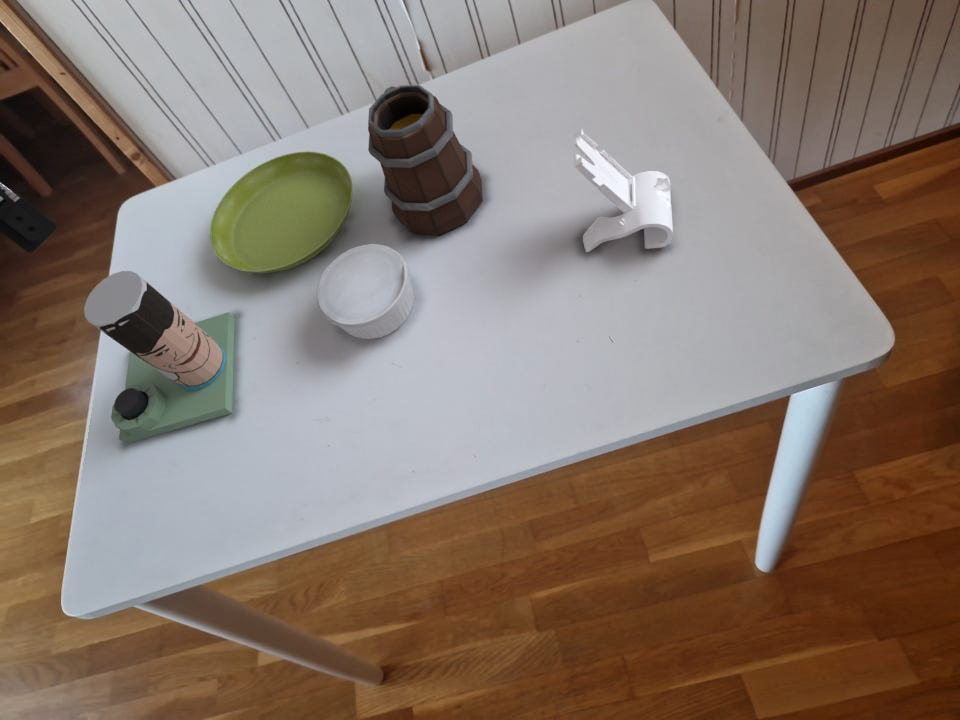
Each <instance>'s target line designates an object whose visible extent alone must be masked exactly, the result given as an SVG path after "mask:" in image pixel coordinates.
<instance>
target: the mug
mask: <svg viewBox="0 0 960 720" xmlns="http://www.w3.org/2000/svg"><path fill="white" fill-rule="evenodd" d="M453 120H454V118H453V113H452V111H451V110H450V109H449V108H447V107H446V106H444V105H442V104H441V103H440V101H439V100H438V98H437V97H436V96H435V95H434V94H433V93H432V92H430V91H429V90H428V89H426V88H425V87H424V86H422V85H420V84H412V85H411V84H410V85H409V84H408V85H406V84H405V85H398V86H393V85H392V86H389V87H387V88H385V90H384V92H383V93H382V94H380V95H379V97H378V98H377V99H376V100H375V101H374V102H373V104H372V105H371V106H370V107H369V108H368V121H367V122H368V123H367V125H368V126H367V131H368V148H367V149H368V150H367V151H368V153H369V154H370V156H372V157H373V158H374V159H375V160H377V162H379V164H380V167H381V170H382V173H383V175H384V183H383V184H384V185H383V193H384V195H385V196H386V197H387V198H388V199H389V200H390V201H391V211H392V213H393V215H394V216H395V218H396V220H397V221H398V222H399V223H401V225H402V226H404V227H405V228H406V229H407V230H408V231H409V232H410V233H411V234H413V235H415V234H416V235H433V236H441V235H443V234H445V233H447V232H449V231H452V230H453V229H456V228H458V227H461V226H462V225H464V224H466V223H468V221H470V219H471V218H472V216H473V215H474V214H475V212H476V210H477V209H478V208H479V207H480V206H481V204H482V203H483V202H484V200H483V182H482V177H481V175H480V171H479V169H478V168H477V167H476V166H474V164H473V155H472V151H470V150H469V149H468V148H466V147H465V146H464V145H462V144H461V143H460V142H459V139H458V137H457V135H456V134H455V131H454V122H453Z"/></svg>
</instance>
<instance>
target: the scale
mask: <svg viewBox="0 0 960 720" xmlns="http://www.w3.org/2000/svg"><path fill="white" fill-rule="evenodd" d="M194 323H195V324H196V325H197V326H198V327H200V328H201V329H202V330H203V331H204V332H205V333H207V334H208V335H209V336H210V337H211V338H212V339H214V340H215V341H216V342H217V343H218V344H219V345H220V346H221V347H222V348H223V349H224V351H225V354H226V363H225V366H224V369H223V371H222V373H221V374H220V375H219V377H218V378H217V379H216V380H215V381H214V382H213V383H212V384H211V385H209V386H207V387H205V388H204V389H201V390H197V391H187V390H185V389H183V388H181V387H180V386H178V385H177V384H176V383H174V382H173V381H171V380H170V379H168V378H167V377H166V376H164V375H163V374H161V373H160V372H159V371H157V370H156V369H154V368H153V367H152V366H150V365H149V364H147V363H146V362H144V361H143V360H142V359H140V358H139V357H137V356H136V355H135V354H133V353H132V352H130V351H129V357H128V365H127V373H126V380H125V389H124V390H126V389H129V388H134V389H136V390H138V391H139V392H141V393H142V394H144V395H145V396H146V397H147V398H148V406H147V408H146V409H145V411H144V412H143V413H142V414H141V415H140V416H139V417H137V418H134V419H130V418H127V417H125V416H123V415H122V414H120V413H118V412H117V411H116V410H115V408H114V404H113V405H112V407H111V414H110V415H111V416H110V419H111V421H112V422H113V424H114V426H115V428H117V429H118V430H119V435H118V440H119V441H120V442H122V443H125V444H126V445H128V444H131V443H136V442H139V441H143V440H145V439H148V438H149V439H150V438H153V437H156V436H159V435H163V434H167V433H169V432H172V431H176V430H179V429H182V428H187V427H190V426H193V425H196V424H201V423H203V422H207V421H211V420H214V419H217V418H221V417H224V416H227V415H230V414H233V399H234V395H233V394H234V367H235V366H234V363H235V361H234V359H235V330H236V329H235V328H236V318H235V316H234V315H233V314H231V312H224V313H222V314H218V315H215V316H212V317H209V318H206V319H203V320H200V321H199V320H198V321H195V322H194Z"/></svg>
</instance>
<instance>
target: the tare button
mask: <svg viewBox="0 0 960 720" xmlns="http://www.w3.org/2000/svg"><path fill="white" fill-rule="evenodd" d="M113 405H114V408H115V410H116V411H117V412H118V413H120V414H122V415H123V416H125V417H127V418H130V419H134V418H137V417H139V416H140V415H141V414H142V413H143V412H144V411H145V409H146V408H147V406H148V398H147V397H146V396H145V395H144V394H142V393H141V392H139V391H138V390H136V389H134V388H129V389H126V390H125V389H124V390H122V391H121V392H119V394H118V395H117V396H116V398H115V400H114V403H113Z"/></svg>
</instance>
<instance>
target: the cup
mask: <svg viewBox="0 0 960 720" xmlns="http://www.w3.org/2000/svg"><path fill="white" fill-rule="evenodd" d="M83 312H84V313H83V314H84V318H85V319H86V320H87V322H88V323H89V324H90V325H92V326H93V327H95V328H96V329H98V330H99V331H100V332H102V333H104V334H105V335H106V336H108V337H109V338H111V339H112V340H114V341H115V342H116V343H117V344H119V345H120V346H122V347H123V348H125V350H127V351H129V353H130V352H132V353H133V354H135V355H136V356H137V357H139V358H140V359H142V360H143V361H144V362H146V363H147V364H149V365H150V366H152V367H153V368H154V369H156V370H157V371H159V372H160V373H161V374H163V375H164V376H166V377H167V378H168V379H170V380H171V381H173V382H174V383H176V384H177V385H178V386H180V387H181V388H183V389H185V390H187V391H197V390H201V389H204V388H205V387H207V386H209V385H211V384H212V383H213V382H214V381H215V380H216V379H217V378H218V377H219V375H220V374H221V373H222V371H223V369H224V366H225V363H226V354H225V351H224V349H223V348H222V347H221V346H220V345H219V344H218V343H217V342H216V341H215V340H214V339H212V338H211V337H210V336H209V335H208V334H207V333H205V332H204V331H203V330H202V329H201V328H200V327H198V326H197V325H196V324H195V323H196V322H194V321H193V320H192V319H190V317H188V316H187V315H186V314H185V313H183V312H182V311H181V310H180V309H179V308H178V307H176V306H175V304H173V303H172V302H171V301H170V300H168V299H167V298H166V297H165V296H164V295H163V294H161V293H160V292H159V291H158V290H157V289H156V288H154V287H153V286H152V285H151V284H149V282H148V281H146V280H145V279H144V278H143V277H141V276H140V275H139V274H138V273H137V272H134V271H131V270H121V271H118V272H115V273H112V274H110V275H108V276H107V277H105V278H104V279H102V280H101V281H100V282H98V283H97V284H96V285H95V287H94V288H93V289H92V290H91V291H90V293H89V295H88V297H87V299H86V300H85V304H84V308H83Z"/></svg>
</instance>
